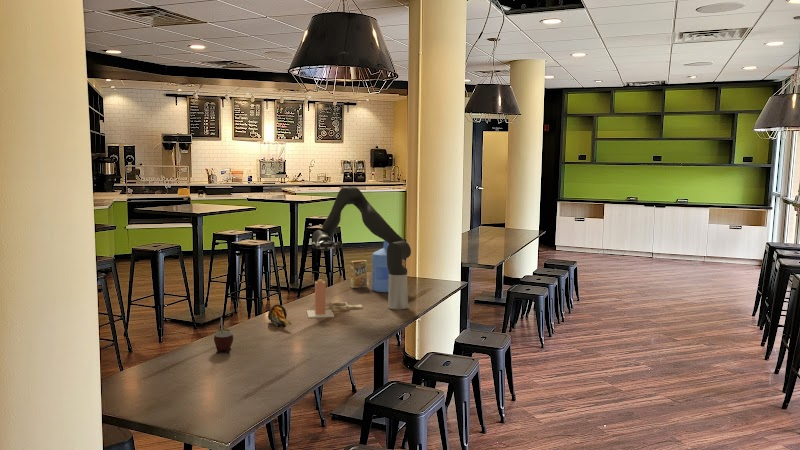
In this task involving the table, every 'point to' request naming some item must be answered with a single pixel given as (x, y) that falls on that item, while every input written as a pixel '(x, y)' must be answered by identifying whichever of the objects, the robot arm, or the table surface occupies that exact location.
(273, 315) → the fried shrimp in bowl
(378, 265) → the water jug
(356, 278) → the candy box
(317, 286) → the salmon block with knob
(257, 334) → the table surface
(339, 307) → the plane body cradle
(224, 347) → the mate gourd
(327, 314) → the felt pad
